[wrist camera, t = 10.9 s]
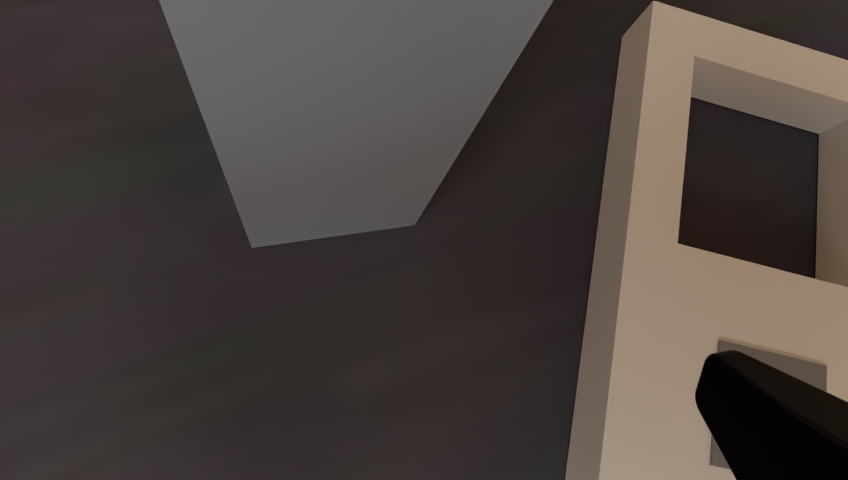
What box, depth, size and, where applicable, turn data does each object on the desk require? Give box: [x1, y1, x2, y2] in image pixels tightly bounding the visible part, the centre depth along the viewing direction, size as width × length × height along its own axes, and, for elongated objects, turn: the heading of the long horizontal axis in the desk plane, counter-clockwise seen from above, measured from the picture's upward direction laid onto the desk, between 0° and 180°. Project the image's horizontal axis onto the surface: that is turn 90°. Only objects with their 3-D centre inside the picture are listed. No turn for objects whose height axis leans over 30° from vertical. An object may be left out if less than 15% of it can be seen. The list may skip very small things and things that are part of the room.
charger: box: [159, 0, 553, 248], centre depth 12 cm, size 5×5×13 cm
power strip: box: [565, 1, 848, 480], centre depth 17 cm, size 22×9×3 cm, turn 168°
